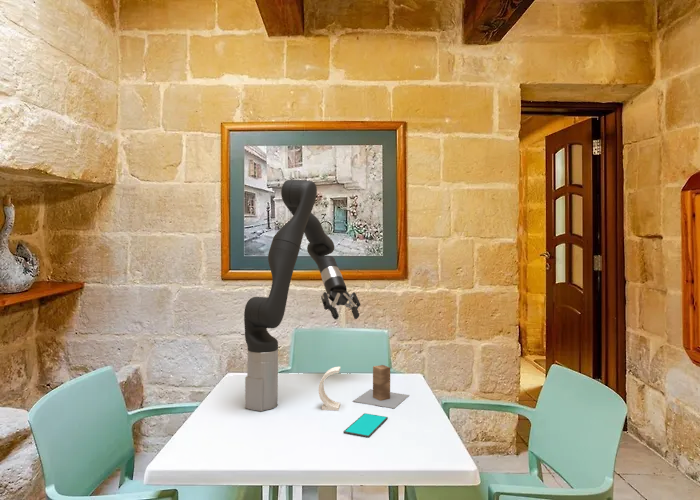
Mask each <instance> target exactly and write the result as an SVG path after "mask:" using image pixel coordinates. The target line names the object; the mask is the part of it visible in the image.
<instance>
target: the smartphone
mask: <svg viewBox="0 0 700 500" xmlns="http://www.w3.org/2000/svg"><path fill="white" fill-rule="evenodd" d="M387 421H388V416H384V415H378V414H373V413H372V414H371V413H366V412H364V413H363V414H362V415H360V417H358V418H357V419H356V420H355V421H354V422H352V423H351V424H350V425H349V426H348V427H347V428H346V429H345V430H343V434H345V435H350V436H356V437H360V438H365V439H366V438H367V439H368V438H370V437H371V436H373V434H374V433H375V432H376V431H378V429H379V428H381V427H382V426H383V424H385V422H387Z"/></svg>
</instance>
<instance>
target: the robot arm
mask: <svg viewBox="0 0 700 500" xmlns="http://www.w3.org/2000/svg"><path fill="white" fill-rule="evenodd" d="M280 190H281V191H280V194H281V199H282V202H283V203H284V205H285V207H286V209H288V211H289V212H290V214H291V215H292V217H291V218H290V220H288V221H287V222H286V223H285V224H284V225H282V227H281V228H279V229H278V231H277V232H276V233H275V234H274V236H273V237H272V240H271V245H270V248H269V249H268V250H269V251H268V254H267V262H268V265H269V266H268V267H269V269H270V270H269V271H270V273H271V279H272V281H271V287H270V291H269V294H268V297H265V296H253V297H251V298H249V299H248V301H247V302H246V304H245V307H244V310H243V311H244V312H243V313H244V314H243V316H244V317H243V319H244V321H243V323H244V339H245V342H246V343H245V344H246V345H247V346H246V347H247V356H246V357H247V362H246V363H247V365H246V367H247V369H246V371H247V375H246V376H245V378H244V379H245V381H244V383H245V386H244V387H245V389H244V391H245V393H244V398H245V402H244V408H245V409H248V410H252V411H253V410H254V411H258V412H263V411H267V410H271V409H274V408H277V406H278V403H279V400H278V396H279V393H278V392H279V389H278V388H279V386H278V384H279V383H278V382H279V376H278V375H279V341H278V340H277V338H276V337H274V336H272V334H270V332H269V330H268V329H276V328H278V327H279V326H280V325H281V323H282V321H283V318H284V316H285V312H286V308H287V307H286V306H287V300H288V297H289V296H288V295H289V289H290V285H291V281H292V277H293V273H294V269H295V266H296V262H297V259H298V256H299V253H300V250H301V246H302V242H303V238H304V235H305V237H306V239H307V241H308V244H307V246H306V251H307V254H308V255H309V257H310V258H311V259H312V260H313V261H314V262H315V264H316V265H317V268H318V270H319V274H320V276H321V277H320V278H321V280H322V283H323V286H324V289H325V291H324V292H323V293H322V294H321V296H320V297H321V302H322V305H323V308H324V310H328V311H330V314H331V316H332V318H333V319H334V320H335V321H337V320H338V319H339V317H340V316H339V311H338V310H337V307H336V306H345V307H346V308H348V309H350V310H351V313H352V316H353V318H354V320H357V319H358V318H359V317H360V313H359V308H360V307H361V305H362V304H361V303H360V299H359V297H358V295H357V294H356V292H352V293H349V292H348V291H347V285H346V283H345V282H346V281H345V280H344V278H343V275H342V272H341V271H340V268H339V267H338V264H337V261H336V259H335V258H334V257H333V256H332V255H330V254H332V253H333V252H334V251H335V243H334V242H333V240H332V238H331V237H330V236H328V234H326V232H325V231H324V228H323V226H322V223H321V222H320V220H319V218H317V216H315V214H313V213H312V211H313V209H314V206H315V203H316V199H317V194H318V189H317V184H316V183H315V182H314V181H312V180H307V179H303V180H302V179H287V180H285V181H284V182H283V184H282V185H281V189H280ZM330 301H331V303H330Z"/></svg>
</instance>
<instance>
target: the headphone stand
mask: <svg viewBox="0 0 700 500" xmlns="http://www.w3.org/2000/svg"><path fill="white" fill-rule="evenodd" d="M340 372H341V366H334V367H331V368H329V369H328V370H327V371H326V372H325V373H324V374H323V376H322V378H321V379H320V382H319V384H318V395H319V399H320V401H321V402H322V406H321V411H339V409H340V407H341V402H337V401H334V400H332V399H331V398H330V397H329V396H328V394H327V393H326V390H325V380H326V379H327V378H328V377H329V376H331V375H335V374H339V373H340Z"/></svg>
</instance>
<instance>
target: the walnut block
mask: <svg viewBox="0 0 700 500" xmlns="http://www.w3.org/2000/svg"><path fill="white" fill-rule="evenodd" d="M372 390H373V398H375V399H377V400H379V401H382V400H386V399H390V392H391V367H390V366H386V365H384V364H380V365H373V367H372Z"/></svg>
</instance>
